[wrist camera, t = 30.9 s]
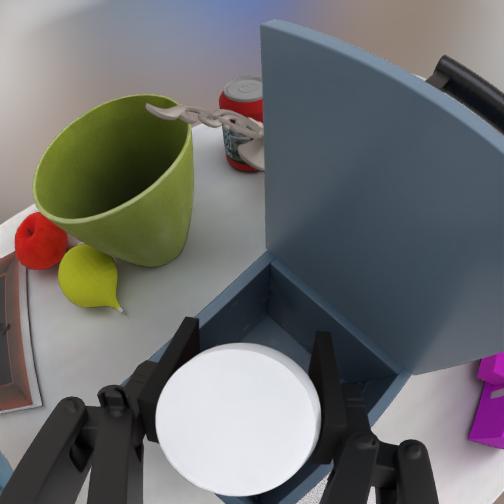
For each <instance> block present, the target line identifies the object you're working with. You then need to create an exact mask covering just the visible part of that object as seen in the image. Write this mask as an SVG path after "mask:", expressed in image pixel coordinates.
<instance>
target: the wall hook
mask: <svg viewBox="0 0 504 504" xmlns="http://www.w3.org/2000/svg"><path fill="white" fill-rule="evenodd" d="M146 109H147V110H148V111H149V112H150V113H151V114H153V115H155V116H157V117H159V118H162V119H165V120H175V119H177V118H179V119H180V120H182V121H184V122H185V123H188V124H194V123H195V122H196V120H195V119H194V118H192V117H190V116H189V115H187V113H186V111H190V112H195V113H198V119H199V120H200V121H201V122H202V123H203V124H205V125H207V126H209V127H213V128H216V127H220V126H221V125H222V126H223V128H224V129H225V131H227V130H229V129H230V130H232V131H233V132H235V133H237V134H239V133H240V134H242V135H245V136H247V137H250V138H254V139H253V140H251V141H250V142H248V143H246V144H243V145H239V147H238V153H239V155H240V157H241V158H242V159H243V160H244V161H245V162H246V163H247V164H249V165H250V166H252V167H253V168H255V169H258V170H261V171H265V170H264V129H263V124H262V123H261V122H257V121H256V120H254V119H252V118H250V117H248V118H246V117H244V116H243V115H241V114H238V113H236V112H233V111H230V110H225V109H219V110H215V111H213V112H209V111H206V110H204V109H201V108H198V107H195V106H191V105H178V106H175V107H172V108H169V109H161V108H157V107H155V106H152V105H150V104H148V103H147V104H146ZM221 115H225V116H222V117H220V116H221ZM212 119H213V120H212ZM230 119H231V120H236V122H235V124H233V123H231V122H230ZM256 124H257V125H258V126H257V125H256ZM246 127H248V128H250V129H251V130H249V129H248V128H246Z"/></svg>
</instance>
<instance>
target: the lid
mask: <svg viewBox="0 0 504 504" xmlns="http://www.w3.org/2000/svg"><path fill="white" fill-rule="evenodd" d="M260 34H261V64H262V94H263V129H264V170H265V223H266V249H267V250H268V251H270V252H271V253H272V254H273V255H274V256H276V257H277V258H278V259H279V260H280V261H281V262H283V263H284V264H285V265H286V266H287V267H289V268H290V269H291V270H292V271H293V272H294V273H296V274H297V275H298V276H299V277H300V278H301V279H303V280H304V281H305V282H306V283H307V284H308V285H310V286H311V287H312V288H313V289H314V290H315V291H317V292H318V293H319V294H320V295H321V296H322V297H324V298H325V299H326V300H327V301H328V302H329V303H331V304H332V305H333V306H334V307H335V308H336V309H338V310H339V311H340V312H341V313H342V314H343V315H345V316H346V317H347V318H348V319H349V320H350V321H351V322H353V323H354V324H355V325H356V326H357V327H358V328H360V329H361V330H362V331H363V332H364V333H365V334H366V335H368V336H369V337H370V338H371V339H372V340H373V341H375V342H376V343H377V344H378V345H379V346H380V347H381V348H383V349H384V350H385V351H386V352H387V353H388V354H389V355H391V356H392V357H393V358H394V359H395V360H396V361H397V362H399V363H400V364H401V365H402V366H403V367H404V368H405V369H407V370H408V371H409V372H410V373H411V374H412V375H419V374H424V373H428V372H433V371H437V370H441V369H445V368H449V367H453V366H457V365H461V364H465V363H468V362H472V361H475V360H479V359H482V358H485V357H489V356H492V355H495V354H498V353H501V352H504V137H503V136H504V93H503V92H501V91H500V90H498V89H497V88H496V87H495V86H493V85H492V84H490V83H489V82H488V81H486V80H485V79H483V78H482V77H481V76H479V75H477V74H476V73H475V72H473V71H471V70H470V69H468V68H467V67H465V66H464V65H462V64H460V63H459V62H457V61H455V60H454V59H452V58H450V57H449V56H447V55H443V56H442V57H441V59H440V60H439V62H438V64H437V66H436V68H435V70H434V73H433V75H432V76H430V77H429V78H428V79H427V80H426V81H423V80H422V79H420V78H418V77H416V76H415V75H413V74H411V73H409V72H407V71H406V70H404V69H402V68H400V67H398V66H396V65H394V64H392V63H390V62H388V61H386V60H384V59H382V58H380V57H378V56H376V55H374V54H372V53H369V52H367V51H365V50H363V49H360V48H358V47H356V46H353V45H351V44H348V43H346V42H344V41H341V40H339V39H336V38H334V37H331V36H328V35H326V34H323V33H320V32H317V31H314V30H311V29H308V28H305V27H302V26H299V25H296V24H293V23H289V22H286V21H282V20H279V19H275V20H272V21H269V22H266V23H263V24H261V25H260ZM446 94H447V95H446ZM449 96H450V97H449ZM452 98H453V99H452ZM455 100H456V101H455ZM458 102H459V103H458ZM461 104H462V105H461ZM464 106H465V107H466V108H465V107H464ZM468 109H469V110H468ZM471 111H472V112H473V113H472V112H471ZM475 114H476V115H475ZM479 117H480V118H479ZM483 120H484V121H485V122H484V121H483ZM487 123H488V124H489V125H488V124H487ZM492 127H493V128H494V129H493V128H492ZM497 131H498V132H499V133H498V132H497Z"/></svg>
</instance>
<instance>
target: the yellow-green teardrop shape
mask: <svg viewBox="0 0 504 504" xmlns="http://www.w3.org/2000/svg"><path fill="white" fill-rule="evenodd" d="M117 279H118V272H117V267H116V264H115V262H114V260H113V258H112V256H110V255H107V254H105V253H103V252H101V251H98V250H96V249H94V248H92V247H91V246H89V245H87V244H80V245H77V246H75V247H73V248H72V249H70V250H69V251H68V252H67V253H66V254H65V255H64V257H63V259H62V261H61V263H60V266H59V271H58V280H59V284H60V287H61V289H62V291H63V293H64V294H65V296H66V297H67V298H68V299H69V300H70V301H71V302H73V303H74V304H76V305H79V306H81V307H98V306H110V307H113V308H115V309H117V311H119V312H120V313H121V312H122V311H123V310H124V309H123V308H122V307H121V306H120V305H119V303H118V301H117V298H116V288H117ZM126 316H127V315H126Z"/></svg>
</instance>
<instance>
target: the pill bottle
mask: <svg viewBox="0 0 504 504" xmlns="http://www.w3.org/2000/svg"><path fill="white" fill-rule="evenodd" d="M321 421H322V416H321V406H320V401H319V397H318V394H317V391H316V389H315V387H314V385H313V383H312V381H311V380H310V378H309V377H308V375H307V374H306V373H305V372H304V370H303V369H302V368H301V367H300V366H299V365H298V364H297V363H295V362H294V361H293V360H292V359H290V358H289V357H288V356H286V355H284V354H283V353H281V352H279V351H277V350H274V349H272V348H269V347H266V346H263V345H259V344H252V343H230V344H224V345H220V346H216V347H213V348H210V349H208V350H205V351H203V352H202V353H200V354H198V355H196V356H195V357H194V358H192V359H191V360H190V361H188V362H187V363H185V364H184V365H183V366H182V367H180V368H179V369H178V370H177V371H176V372H175V373H174V374H173V375H172V377H171V378H170V379H169V380H168V382H167V383H166V385H165V387H164V388H163V391H162V393H161V395H160V398H159V401H158V404H157V409H156V432H157V436H158V440H159V443H160V446H161V448H162V450H163V453H164V454H165V456H166V458H167V460H168V461H169V462H170V464H171V465H172V466H173V467H174V468H175V470H176V471H177V472H178V473H179V474H180V475H182V476H183V477H184V478H185V479H187V480H188V481H189V482H191V483H192V484H194V485H196V486H198V487H200V488H202V489H204V490H207V491H209V492H212V493H216V494H220V495H226V496H250V495H255V494H260V493H263V492H266V491H269V490H271V489H273V488H275V487H277V486H279V485H281V484H282V483H284V482H285V481H287V480H288V479H289V478H291V477H292V476H293V475H294V474H295V473H296V472H297V471H298V470H299V469H300V468H301V467H302V466H303V465H304V464H305V463H306V461H307V460H308V459H309V457H310V456H311V454H312V452H313V451H314V449H315V447H316V444H317V442H318V439H319V435H320V430H321Z"/></svg>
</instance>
